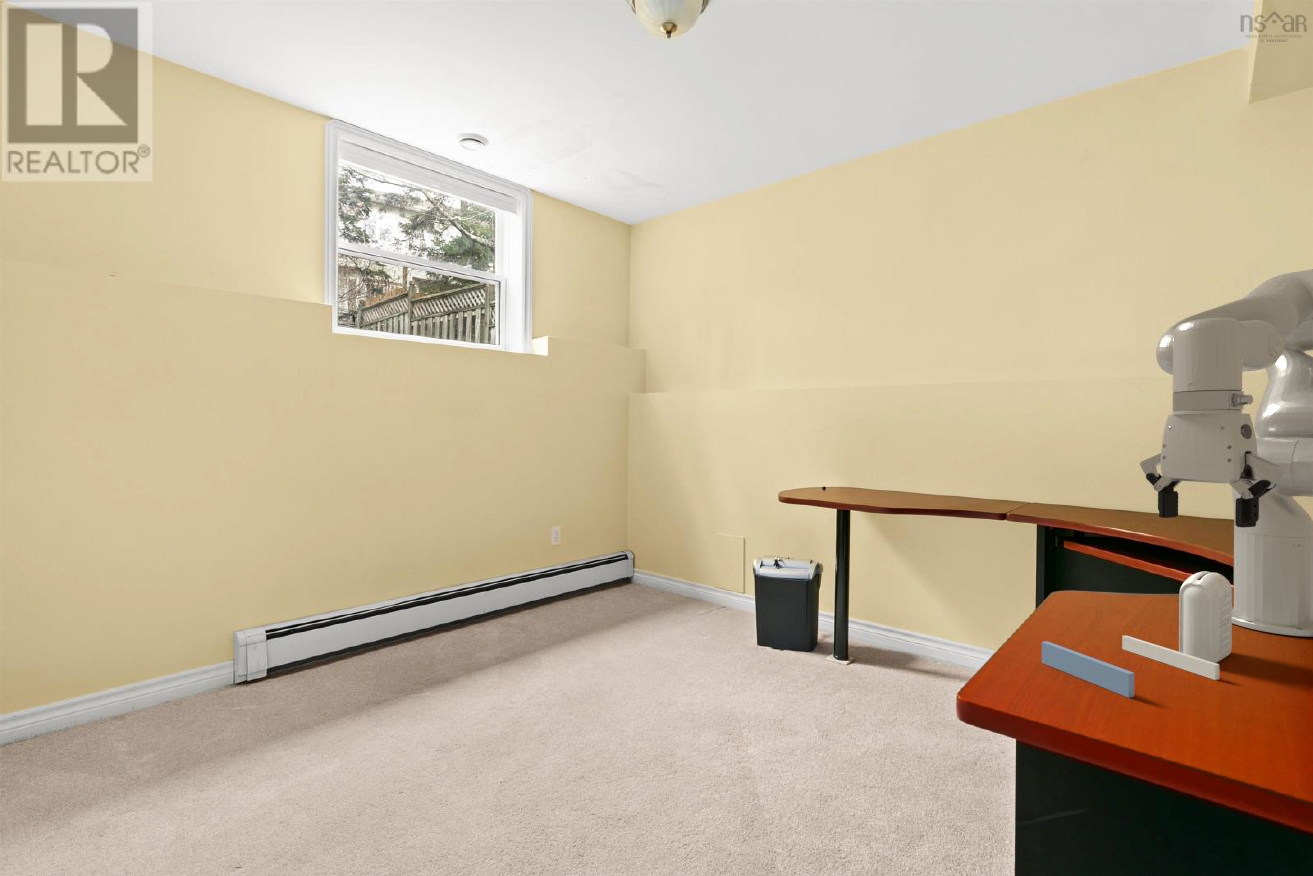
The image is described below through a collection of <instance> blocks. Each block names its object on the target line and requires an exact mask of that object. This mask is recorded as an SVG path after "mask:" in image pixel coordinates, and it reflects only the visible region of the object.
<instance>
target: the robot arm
mask: <svg viewBox="0 0 1313 876" xmlns="http://www.w3.org/2000/svg"><path fill="white" fill-rule="evenodd" d="M1307 351H1309V352H1310V351H1313V269H1312V268H1311V269H1306V270H1300V271H1294V272H1289V273H1283V274H1280V275H1276V276H1273V277H1270V278H1269V279H1267V280H1264V281H1263V282H1262V283H1261V284H1259V285H1258V286H1257V287H1255V288H1254V289H1253V290H1252V291H1250V292H1249V293H1248V294H1246V295H1245V296H1244V297H1243V298H1239V299H1236V300H1234V301H1231V302H1230V301H1229V302H1227V303H1223V304H1222V305H1219V306H1216V307H1214V308H1211V309H1207V310H1203V311H1202V312H1198V313H1195V314H1193V315H1190V316H1187V317H1185V318H1183V319H1181V320H1179V321H1178V322H1176V323H1175V324H1174V325H1171V326H1170V327H1169V328H1168V329H1167V330H1166V331H1165V332H1164V333H1163V334H1162V336H1161V337H1160V339H1159V341H1158V343H1157V346H1156V350H1155V356H1156V357H1155V358H1156V362H1157V364H1158V366H1159V367H1160V369H1161V370H1162V371H1163V372H1165V373H1166V374H1168V375H1172V414H1168V415H1167V418H1166V420H1165V426H1164V429H1163V435H1162V442H1161V449H1160V450H1161V451H1160V453H1157V454H1156V455H1154V456H1151V457H1149V458H1147V459H1144V460H1142V461H1140V463H1139V466H1140V467H1141V471H1142V472H1143V473H1144V474H1145V479H1146V480H1147V481H1148V482H1149V483H1150V484H1151V486H1152V487H1153V490H1154V491H1155V492H1157V510H1158V517H1159V518H1163V519H1169V518H1170V519H1171V518H1177V517H1178V516H1179V493H1178V491H1177V490H1175V488H1176V487H1178V485H1180V484H1181V483H1182V482H1183V481H1184V482H1195V483H1197V482H1198V483H1211V484H1229V485H1230V487H1231V492H1232V501H1233V502H1232V503H1233V522H1234V523H1233V606H1232V625H1233V624H1234V625H1237V626H1239V627H1243V628H1247V629H1251V630H1254V631H1261V632H1263V633H1264V632H1265V633H1270V634H1277V635H1283V636H1290V637H1291V636H1292V637H1293V636H1294V637H1306V638H1307V637H1308V638H1311V637H1312V638H1313V518H1312V516H1311V515H1310V514H1309V513H1308V512H1307V511H1306V509H1305V508H1304V507H1302V505H1300V504H1299V502H1297V500H1295V498H1294V497H1308V498H1309V497H1310V498H1313V356H1311V355H1309V354H1308V353H1306V352H1307ZM1260 370H1265V371H1266V373H1267V378H1268V380H1267V384H1266V387H1265V390H1264V391H1263V392H1264V393H1263V395H1262V398H1261V400H1260V403H1259V406H1258V409H1257V412H1256V414H1255V415H1256V416H1255V418H1254V423H1253V421H1252V417H1251V414H1250V413H1243V410H1244V406H1246V405H1252V404H1253V402H1254V397H1253V395H1252V394H1244V390H1243V372H1254V371H1255V372H1256V371H1260ZM1256 436H1257V437H1256ZM1158 466H1160V472H1161V474H1160V473H1159V472H1158V470H1157V467H1158Z"/></svg>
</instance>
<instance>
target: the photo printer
mask: <svg viewBox="0 0 1313 876" xmlns="http://www.w3.org/2000/svg"><path fill="white" fill-rule="evenodd" d="M1178 599H1179V603H1178V604H1179V606H1178V608H1179V610H1178V611H1179V613H1178V614H1179V615H1178V617H1179V618H1178V619H1179V621H1178V623H1179V624H1178V631H1179V632H1178V633H1179V634H1178V636H1179V637H1178V640H1179V641H1178V645H1179V646H1178V647H1179V648H1178V649H1179V650H1178V652H1181V653H1184V654H1187V655H1191V656H1194V657H1197V658H1200V659H1203V660H1207V661H1210V662H1213V663H1216V664H1218V662H1220V661H1222V660H1223V659H1225V658H1226V657H1227V656H1229V655H1231V653H1232V647H1233V641H1232V640H1233V639H1232V637H1233V636H1232V633H1233V631H1232V630H1233V629H1232V628H1233V626H1232V625H1233V623H1232V607H1233V605H1232V603H1233V590H1232V584H1231V583H1230V581H1229V579H1227V578H1226V577H1225V576H1224V575H1222V574H1221V573H1218V572H1210V571H1207V570H1206V571H1205V570H1204V571H1200V572H1196V573H1194V574H1192V575H1190V576H1189V577H1188V578H1187V579H1186V580H1185V581H1184V582H1183V583H1182V585H1181V586H1180V589H1179V598H1178Z"/></svg>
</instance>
